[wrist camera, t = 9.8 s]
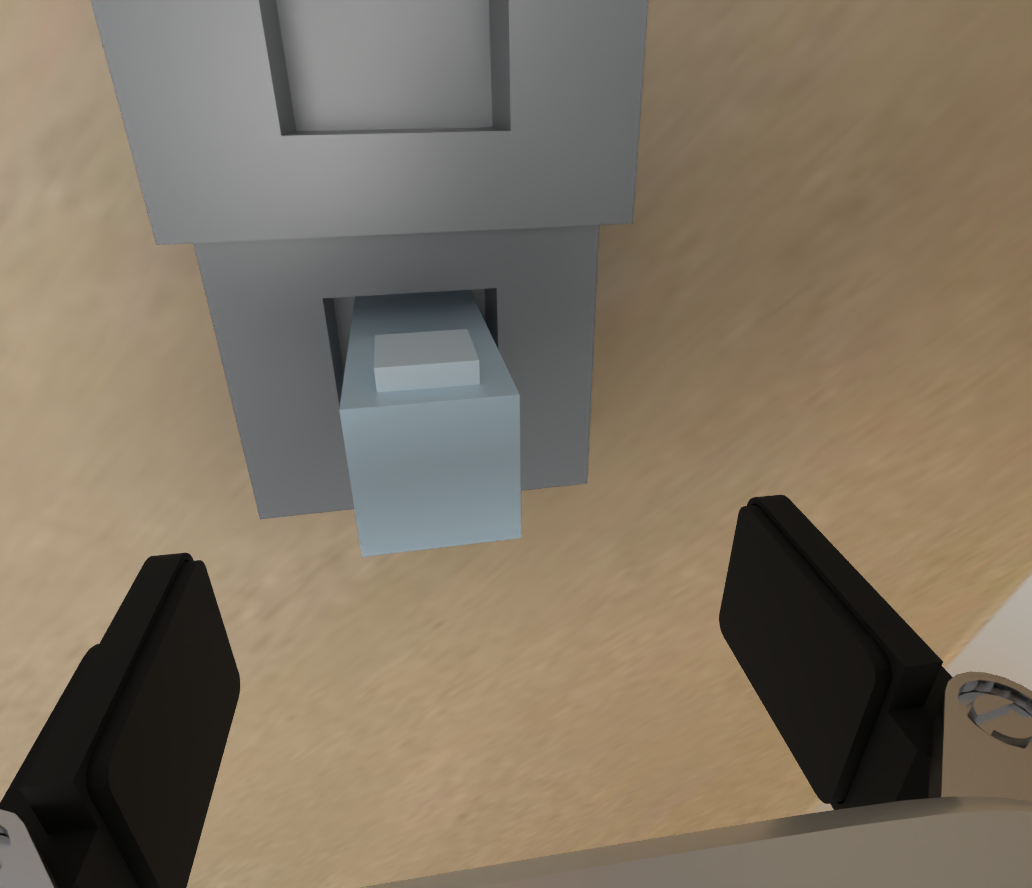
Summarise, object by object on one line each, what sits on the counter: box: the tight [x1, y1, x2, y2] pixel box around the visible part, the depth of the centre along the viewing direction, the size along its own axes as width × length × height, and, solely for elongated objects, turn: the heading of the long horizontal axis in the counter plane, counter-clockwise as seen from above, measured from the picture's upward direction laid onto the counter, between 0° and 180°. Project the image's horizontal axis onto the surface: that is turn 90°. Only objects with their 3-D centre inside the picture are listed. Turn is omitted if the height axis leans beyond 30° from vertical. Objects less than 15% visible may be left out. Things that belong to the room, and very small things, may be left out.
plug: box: [339, 290, 521, 557], centre depth 19 cm, size 4×5×10 cm
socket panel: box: [91, 0, 648, 519], centre depth 19 cm, size 12×20×6 cm, turn 0°
